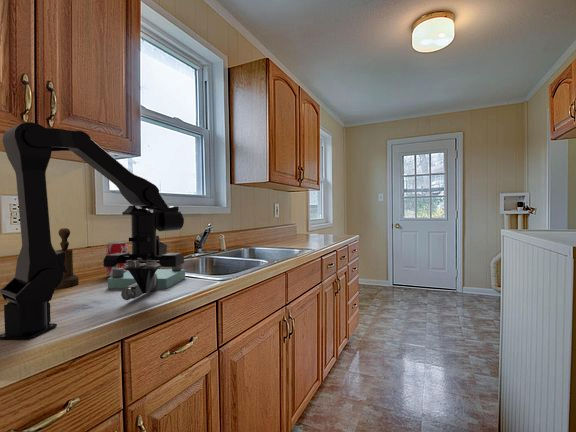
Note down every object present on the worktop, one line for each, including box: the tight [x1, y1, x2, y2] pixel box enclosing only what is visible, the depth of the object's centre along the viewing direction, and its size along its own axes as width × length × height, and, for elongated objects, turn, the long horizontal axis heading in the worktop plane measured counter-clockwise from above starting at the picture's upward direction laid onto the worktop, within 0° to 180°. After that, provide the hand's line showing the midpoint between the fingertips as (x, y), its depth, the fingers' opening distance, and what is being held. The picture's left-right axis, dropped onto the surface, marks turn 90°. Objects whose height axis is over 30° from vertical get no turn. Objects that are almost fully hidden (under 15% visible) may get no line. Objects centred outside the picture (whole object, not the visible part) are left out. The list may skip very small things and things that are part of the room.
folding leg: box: [120, 274, 158, 301], centre depth 82 cm, size 14×3×4 cm, turn 177°
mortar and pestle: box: [56, 227, 79, 289], centre depth 96 cm, size 7×6×18 cm
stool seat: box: [107, 264, 186, 290], centre depth 98 cm, size 14×18×6 cm
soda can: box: [105, 241, 130, 278], centre depth 109 cm, size 7×7×12 cm
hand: (145, 293), depth 79 cm, fingers closed
